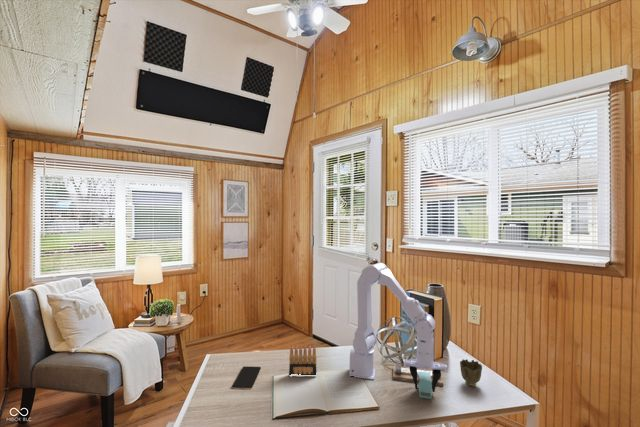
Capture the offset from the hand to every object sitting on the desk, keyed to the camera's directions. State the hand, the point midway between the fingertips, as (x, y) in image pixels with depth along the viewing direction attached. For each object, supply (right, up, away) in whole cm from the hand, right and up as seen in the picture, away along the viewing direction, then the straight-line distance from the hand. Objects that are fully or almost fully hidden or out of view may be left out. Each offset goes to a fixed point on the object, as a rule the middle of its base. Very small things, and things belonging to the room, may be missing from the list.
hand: (424, 389), depth 111 cm
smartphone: (-65, -1, +9) cm, 65 cm away
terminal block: (0, -1, 0) cm, 1 cm away
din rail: (+1, 0, +11) cm, 11 cm away
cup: (+19, -2, +6) cm, 20 cm away
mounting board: (+1, -1, +11) cm, 11 cm away
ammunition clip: (-44, -1, +11) cm, 45 cm away
